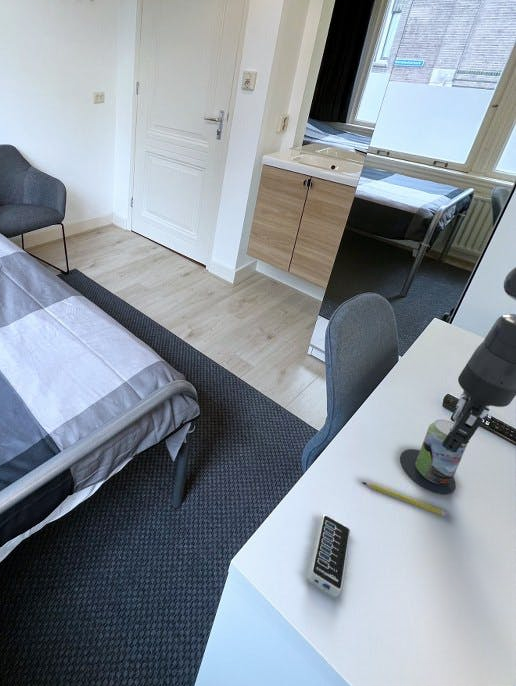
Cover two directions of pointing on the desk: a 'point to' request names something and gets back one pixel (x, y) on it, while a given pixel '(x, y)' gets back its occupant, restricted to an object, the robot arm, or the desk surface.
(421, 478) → the coaster
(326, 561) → the multiport hub
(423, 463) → the beverage can
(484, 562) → the desk surface
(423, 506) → the pencil
